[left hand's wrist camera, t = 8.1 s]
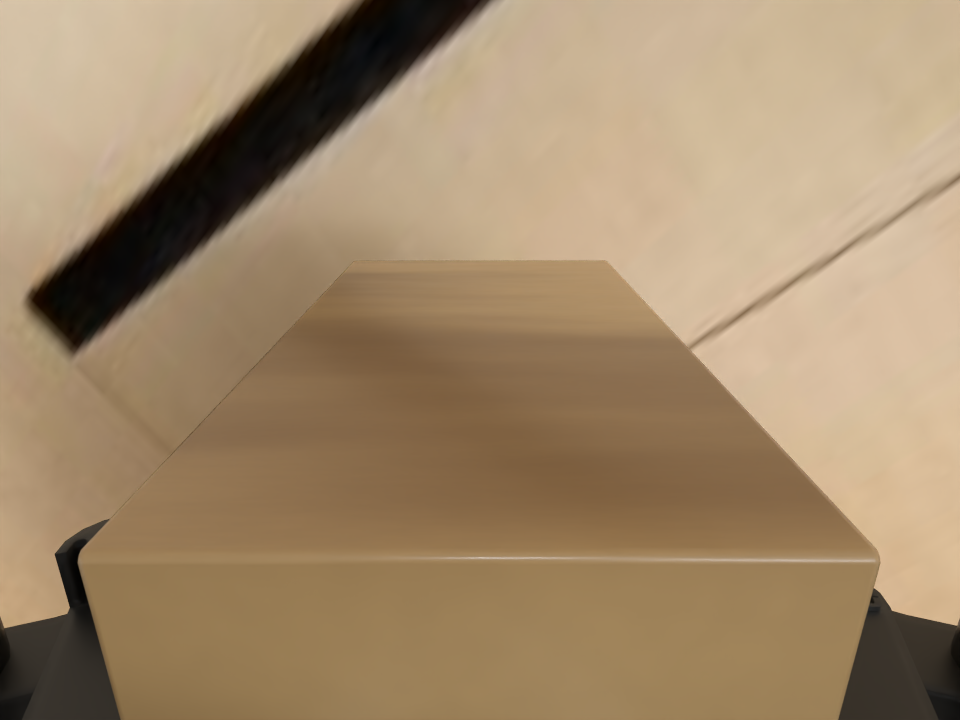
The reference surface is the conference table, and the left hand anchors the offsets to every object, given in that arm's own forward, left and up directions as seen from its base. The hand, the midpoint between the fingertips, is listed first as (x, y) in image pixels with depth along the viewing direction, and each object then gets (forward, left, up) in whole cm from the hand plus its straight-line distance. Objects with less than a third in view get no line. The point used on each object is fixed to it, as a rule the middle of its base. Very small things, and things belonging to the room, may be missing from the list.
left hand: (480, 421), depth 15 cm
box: (+7, 0, -1) cm, 7 cm away
